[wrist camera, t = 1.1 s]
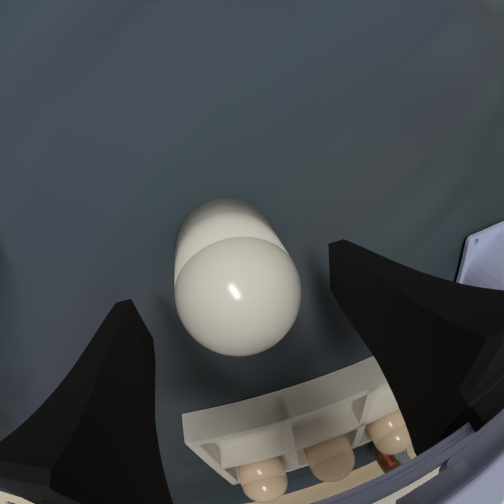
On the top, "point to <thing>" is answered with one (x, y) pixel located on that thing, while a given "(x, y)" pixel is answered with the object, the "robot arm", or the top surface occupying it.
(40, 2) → the top surface
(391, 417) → the brown egg
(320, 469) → the brown egg middle
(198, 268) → the cream egg
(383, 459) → the tin
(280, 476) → the brown egg
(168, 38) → the top surface
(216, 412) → the egg carton
